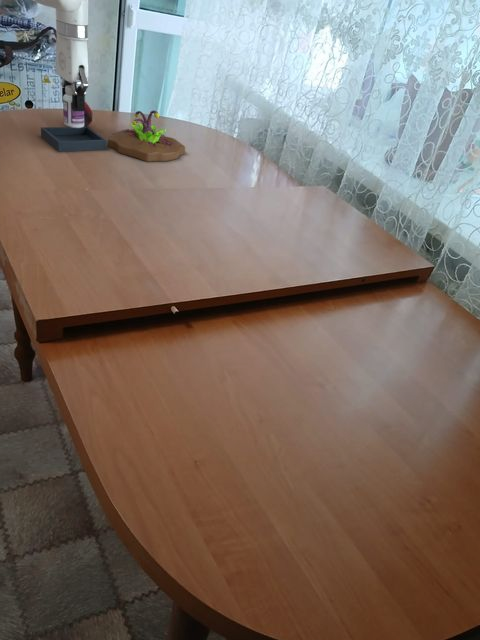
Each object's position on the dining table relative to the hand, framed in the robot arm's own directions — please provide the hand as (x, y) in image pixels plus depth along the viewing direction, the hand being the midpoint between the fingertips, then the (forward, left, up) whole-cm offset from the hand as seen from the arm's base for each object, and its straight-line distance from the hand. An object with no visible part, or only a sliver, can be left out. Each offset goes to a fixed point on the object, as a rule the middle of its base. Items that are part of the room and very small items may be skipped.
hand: (73, 106), depth 145 cm
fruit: (+7, +12, -10) cm, 17 cm away
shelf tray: (0, 0, -10) cm, 10 cm away
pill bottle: (0, 0, -5) cm, 5 cm away
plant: (+19, -7, -10) cm, 23 cm away
